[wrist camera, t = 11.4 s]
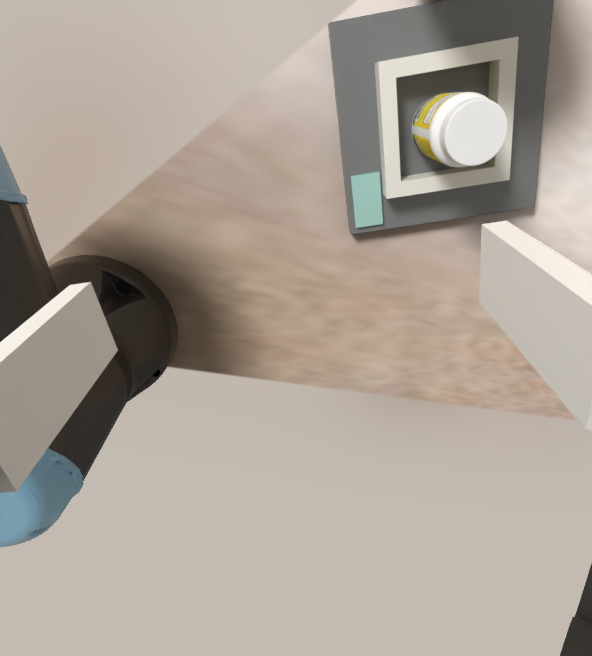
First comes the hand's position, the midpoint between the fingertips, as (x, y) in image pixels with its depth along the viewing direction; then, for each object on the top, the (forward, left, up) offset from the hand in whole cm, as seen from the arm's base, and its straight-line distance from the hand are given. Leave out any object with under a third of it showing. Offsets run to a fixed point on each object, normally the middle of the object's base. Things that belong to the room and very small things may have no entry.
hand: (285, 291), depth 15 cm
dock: (+12, +2, -27) cm, 29 cm away
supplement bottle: (+12, +2, -26) cm, 28 cm away
